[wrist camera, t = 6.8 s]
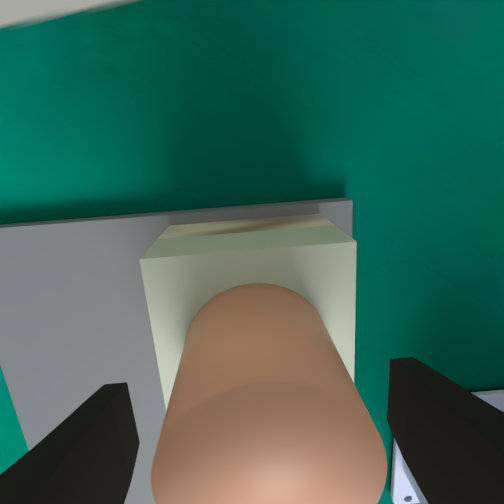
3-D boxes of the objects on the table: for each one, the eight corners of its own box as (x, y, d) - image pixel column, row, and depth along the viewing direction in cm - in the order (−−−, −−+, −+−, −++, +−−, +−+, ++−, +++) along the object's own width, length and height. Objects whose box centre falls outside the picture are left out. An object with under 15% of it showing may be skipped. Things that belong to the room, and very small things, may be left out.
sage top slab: (335, 225, 13) (356, 241, 11) (335, 376, 15) (353, 417, 13) (156, 239, 13) (139, 259, 11) (180, 389, 15) (170, 434, 13)
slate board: (345, 197, 17) (352, 200, 16) (343, 501, 22) (348, 517, 21) (-28, 226, 16) (-44, 231, 15) (68, 527, 22) (60, 545, 21)
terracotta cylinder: (332, 282, 11) (402, 378, 7) (322, 406, 13) (373, 558, 8) (181, 283, 11) (140, 384, 6) (188, 409, 13) (159, 568, 8)
